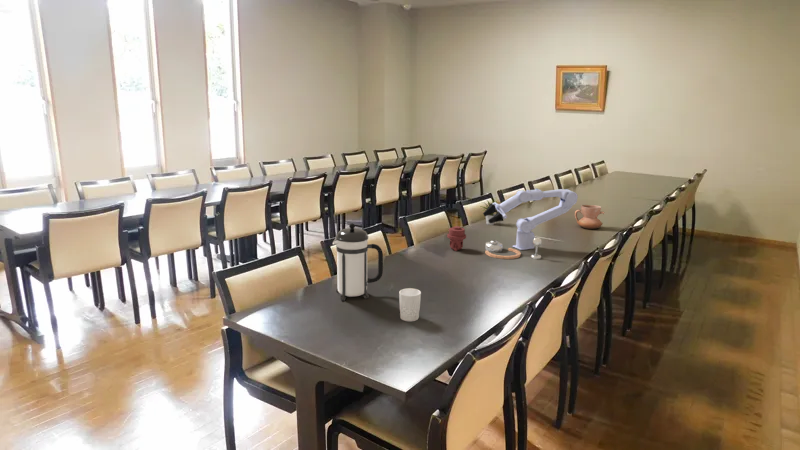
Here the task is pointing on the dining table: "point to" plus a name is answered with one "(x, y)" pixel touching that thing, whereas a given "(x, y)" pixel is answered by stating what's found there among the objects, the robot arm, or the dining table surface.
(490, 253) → the ring
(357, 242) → the coffee press
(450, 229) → the mechanical component
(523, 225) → the robot arm
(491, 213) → the house plant
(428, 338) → the dining table surface
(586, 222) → the ceramic jug
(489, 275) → the dining table surface
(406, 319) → the white cup
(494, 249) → the cast cover
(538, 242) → the wine glass
